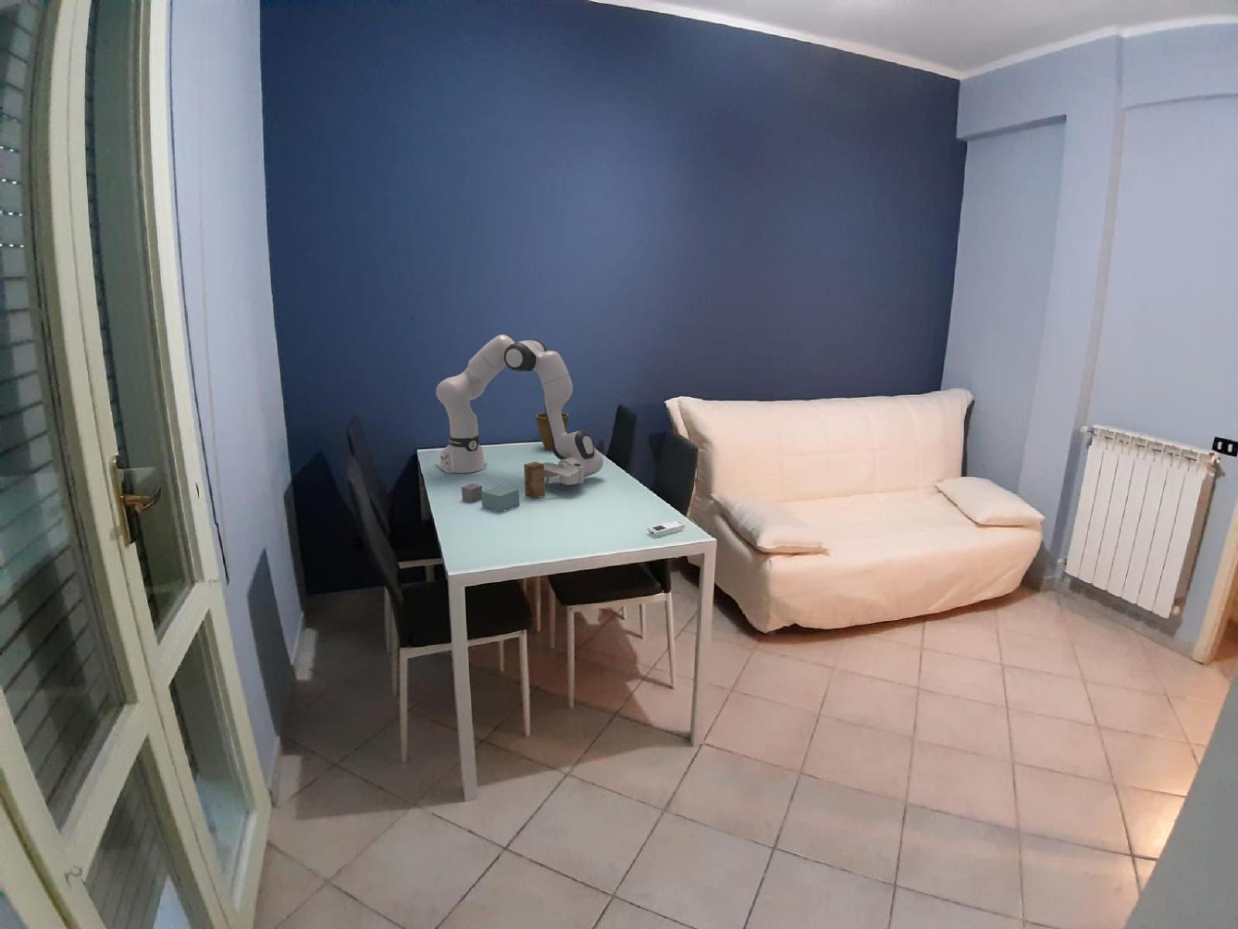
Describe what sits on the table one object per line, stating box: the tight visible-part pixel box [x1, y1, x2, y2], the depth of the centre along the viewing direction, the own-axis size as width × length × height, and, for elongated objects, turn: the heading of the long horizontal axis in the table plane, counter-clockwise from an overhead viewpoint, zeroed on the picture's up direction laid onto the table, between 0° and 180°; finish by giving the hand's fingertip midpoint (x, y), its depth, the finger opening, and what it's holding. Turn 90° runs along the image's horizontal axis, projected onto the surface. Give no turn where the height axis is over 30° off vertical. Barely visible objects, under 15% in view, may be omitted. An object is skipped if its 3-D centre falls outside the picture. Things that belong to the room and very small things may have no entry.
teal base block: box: [481, 484, 520, 513], centre depth 211 cm, size 9×9×6 cm
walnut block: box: [523, 461, 546, 500], centre depth 220 cm, size 5×5×12 cm
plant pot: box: [535, 412, 569, 451], centre depth 286 cm, size 15×15×16 cm
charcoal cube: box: [461, 483, 483, 504], centre depth 218 cm, size 5×5×5 cm
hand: (539, 477), depth 222 cm, fingers open, 8 cm apart
